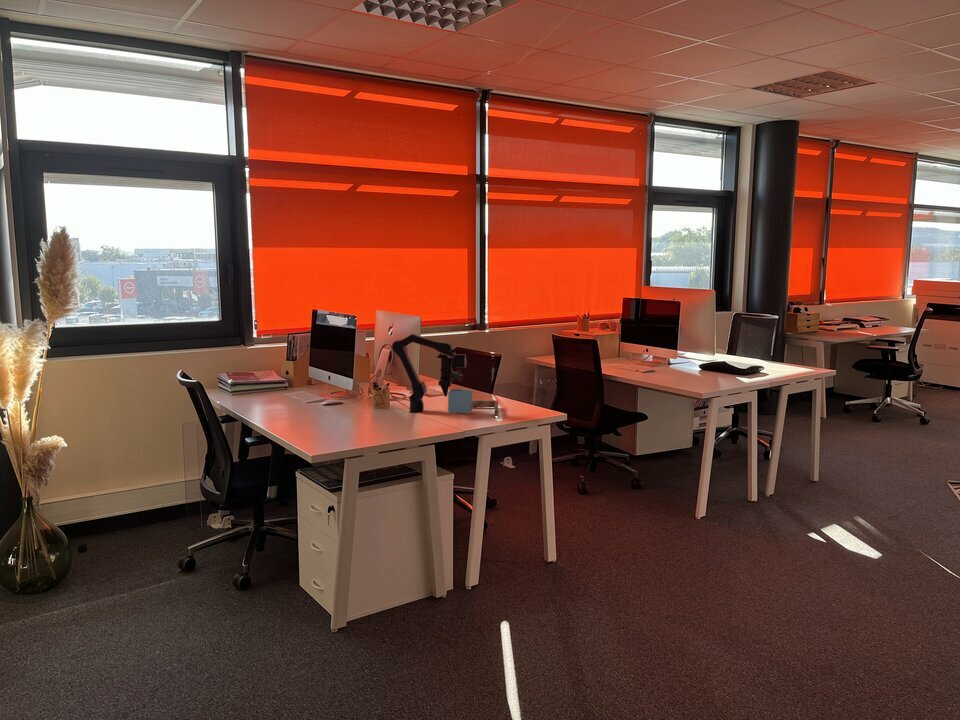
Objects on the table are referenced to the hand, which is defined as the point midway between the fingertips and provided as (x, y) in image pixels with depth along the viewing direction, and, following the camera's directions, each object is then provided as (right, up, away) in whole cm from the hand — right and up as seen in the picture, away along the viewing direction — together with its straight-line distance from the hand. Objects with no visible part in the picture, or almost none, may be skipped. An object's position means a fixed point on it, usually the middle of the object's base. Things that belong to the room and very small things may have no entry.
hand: (445, 396), depth 364 cm
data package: (+7, -9, +1) cm, 12 cm away
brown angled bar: (+17, -9, +2) cm, 19 cm away
